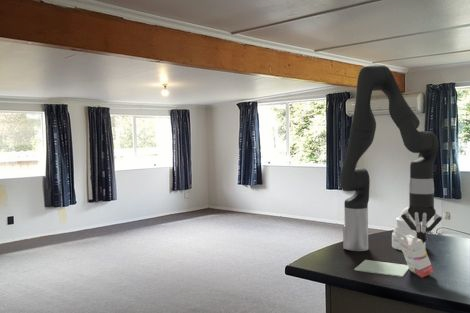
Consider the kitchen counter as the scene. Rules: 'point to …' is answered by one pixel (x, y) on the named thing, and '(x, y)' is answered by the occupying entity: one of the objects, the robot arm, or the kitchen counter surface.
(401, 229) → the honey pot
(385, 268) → the mat
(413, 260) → the ink cartridge box
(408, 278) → the kitchen counter surface
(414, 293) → the kitchen counter surface
